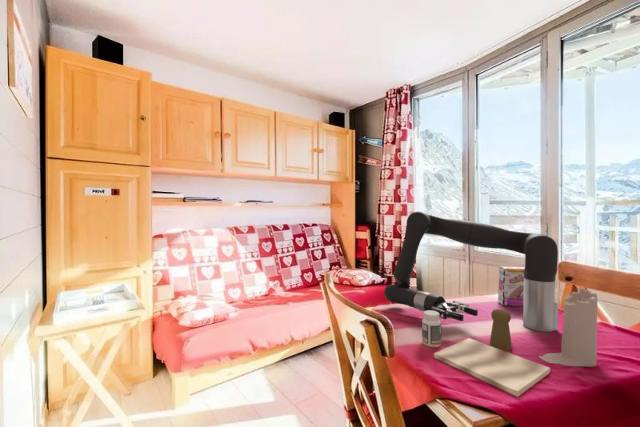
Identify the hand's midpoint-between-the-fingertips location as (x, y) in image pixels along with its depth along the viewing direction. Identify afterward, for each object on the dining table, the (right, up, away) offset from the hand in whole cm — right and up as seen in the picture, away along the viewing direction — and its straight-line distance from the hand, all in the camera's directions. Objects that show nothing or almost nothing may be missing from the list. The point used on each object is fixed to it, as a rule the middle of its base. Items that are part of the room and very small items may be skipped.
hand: (470, 315), depth 103 cm
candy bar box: (+34, -6, +31) cm, 47 cm away
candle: (+19, -7, -17) cm, 26 cm away
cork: (+6, -7, -8) cm, 12 cm away
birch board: (-4, -7, -19) cm, 21 cm away
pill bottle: (-15, -7, -7) cm, 18 cm away
